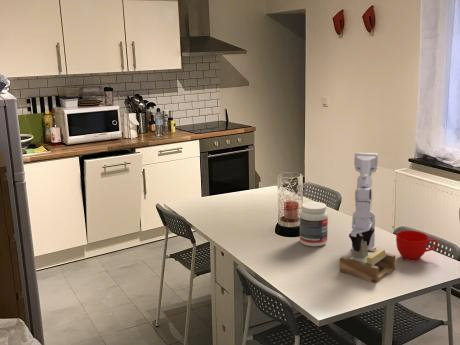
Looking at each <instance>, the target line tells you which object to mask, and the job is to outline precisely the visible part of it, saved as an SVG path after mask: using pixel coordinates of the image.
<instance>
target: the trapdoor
mask: <svg viewBox="0 0 460 345" xmlns="http://www.w3.org/2000/svg"><path fill="white" fill-rule="evenodd" d="M376 250H377V251H376V252H368V256H366V257H364V258H363V259H362V258H355V257H353V256H352V257H349V258H350V259H353V260H357V261H360V262H364V263H367V264H370V265H374V264H376V263H377V262H379V261H380V260H381V259H383V258H384V257H386V254H385V252H386V249H383V248H382V249H381V248H380V249H376ZM374 266H375V265H374Z"/></svg>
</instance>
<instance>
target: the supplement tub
mask: <svg viewBox="0 0 460 345" xmlns="http://www.w3.org/2000/svg"><path fill="white" fill-rule="evenodd" d="M328 221H329V214H328V212H327V205H326V204H325V203H324V202H319V201H308V202H304V203H302V204H301V211H300V212H299V241H300V243H301V244H302V245H305V246H308V247H322V246H324V245H325V244H327V242H328V227H329V226H328V225H329V222H328Z"/></svg>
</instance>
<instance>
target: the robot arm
mask: <svg viewBox="0 0 460 345" xmlns="http://www.w3.org/2000/svg"><path fill="white" fill-rule="evenodd" d="M378 156H379V154H378V153H377V152H357V151H356V152H354V169H355V170H354V171H356V172H358V173H359V176H358V177H357V181H356V182H357V183H356V188H355V191H354V204H355V205H354V206H355V211H353V213H352V220H351V229H352V230H351V231H350V233H349V234H348V237H349V239H350V240H351V245H352V244H353V248H354V251H357V252H359V251H360V246H361V242H362V241H367V248H371V249H374V250H376V249H377V246H375V242H376V241H375V240H376V239H375V238H376V234H375V228H376V226H375V225H376V215H375V212H374V211H372V210H371V202H372V199H373V189H372V188H373V186H372V181H373V180H372V178H371V177H372V175H373V173H375V172H377V169H378V164H379V163H378V159H379V157H378ZM350 250H351V251H352V247H350Z"/></svg>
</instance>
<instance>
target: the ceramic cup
mask: <svg viewBox="0 0 460 345" xmlns="http://www.w3.org/2000/svg"><path fill="white" fill-rule="evenodd" d="M395 236H396V237H395V239H396V240H395V242H396V248H397V251H398V252H399V255H400V256H401V257H402V258H403V259H404V260H407V261H411V262H412V261H418V260H420V259H421V257H423V256H424V254H425V253H427V252H430V251H434V250H435V249H436V248H437V246H438V244H439V242H438V241H437V239H435V238H434V239H433V238H431V239H429V236H428V235H427V234H426V233H425V232H420V231H417V230H416V231H415V230H403V231H402V230H401V231H398V232H397V233H396V235H395ZM431 242H435V244H434V246H433V247H431V248H428V245H429V243H431Z"/></svg>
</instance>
